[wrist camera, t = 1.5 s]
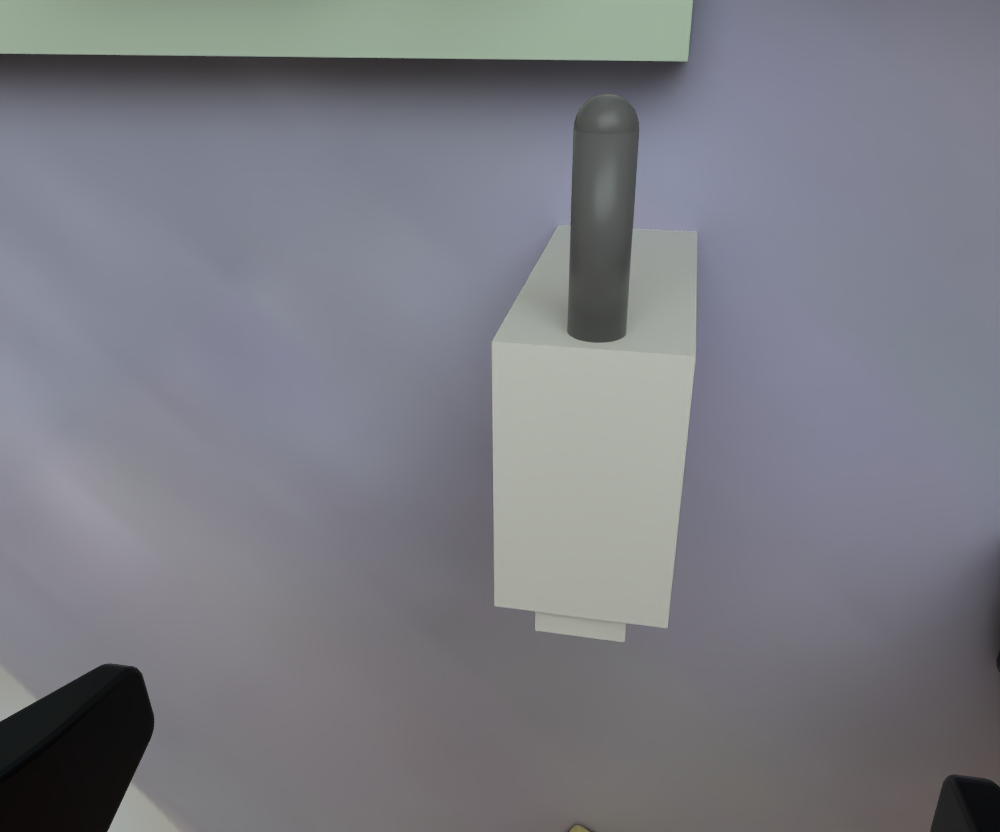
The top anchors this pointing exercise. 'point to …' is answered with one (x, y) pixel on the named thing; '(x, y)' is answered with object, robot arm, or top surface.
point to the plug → (595, 403)
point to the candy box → (578, 829)
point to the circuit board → (353, 28)
